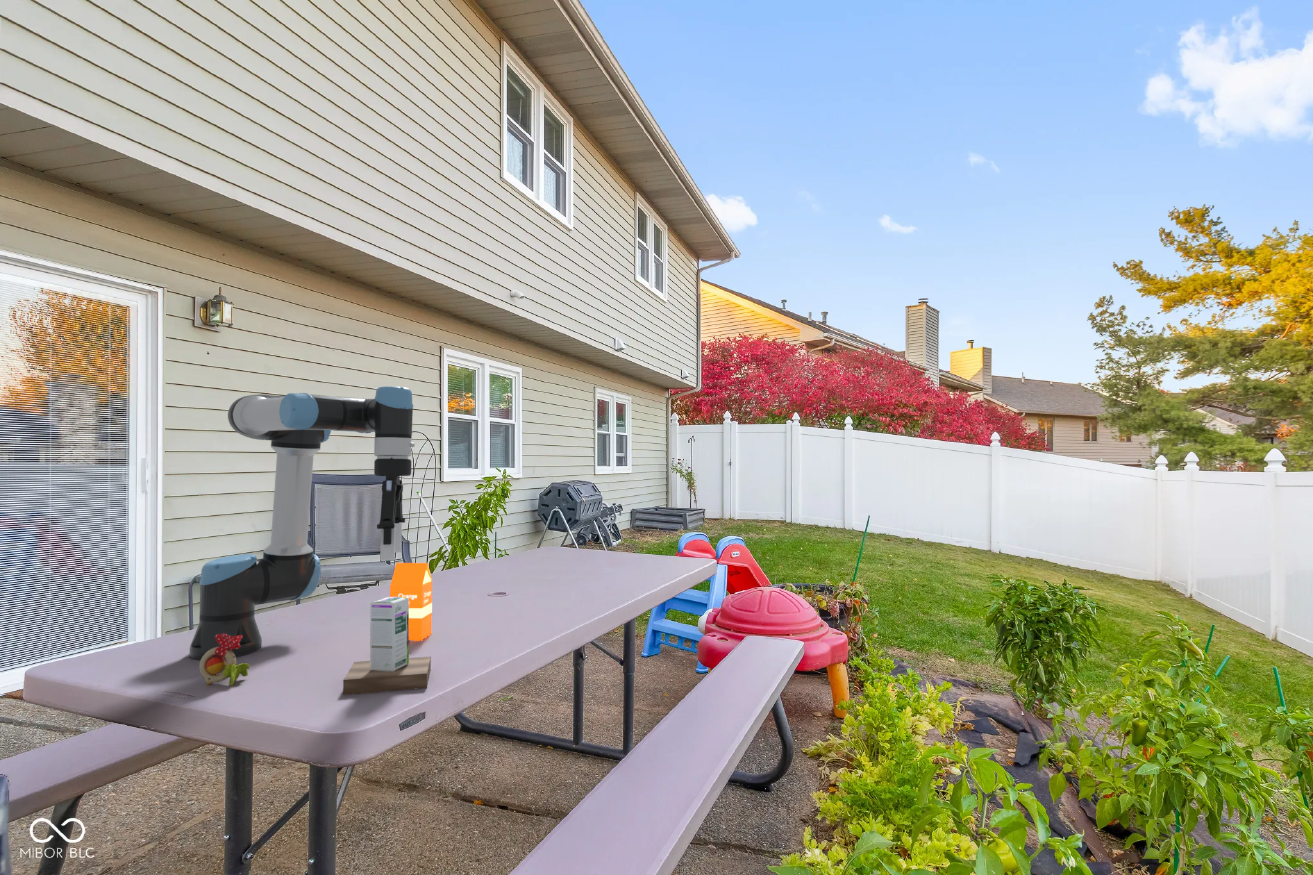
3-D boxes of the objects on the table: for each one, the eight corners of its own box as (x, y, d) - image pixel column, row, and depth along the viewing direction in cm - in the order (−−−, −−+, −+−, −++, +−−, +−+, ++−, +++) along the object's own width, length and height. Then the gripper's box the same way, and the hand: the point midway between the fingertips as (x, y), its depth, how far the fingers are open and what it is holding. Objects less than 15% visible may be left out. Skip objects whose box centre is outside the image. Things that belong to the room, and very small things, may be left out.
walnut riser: (354, 675, 147) (354, 661, 147) (430, 669, 151) (430, 656, 151) (343, 694, 134) (343, 679, 135) (426, 688, 139) (427, 673, 139)
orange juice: (421, 641, 177) (422, 565, 178) (388, 641, 177) (389, 564, 178) (431, 633, 184) (432, 560, 185) (400, 633, 185) (401, 560, 186)
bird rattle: (202, 699, 138) (245, 680, 139) (180, 650, 138) (224, 631, 139) (217, 689, 144) (259, 671, 145) (197, 642, 144) (239, 624, 145)
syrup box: (394, 672, 140) (395, 602, 140) (368, 670, 141) (370, 601, 141) (409, 664, 145) (410, 597, 146) (384, 662, 146) (385, 595, 147)
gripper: (406, 457, 134) (404, 563, 133) (416, 458, 158) (414, 548, 157) (365, 456, 132) (363, 564, 131) (382, 458, 156) (380, 549, 155)
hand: (391, 556), depth 144 cm, fingers open, 13 cm apart
